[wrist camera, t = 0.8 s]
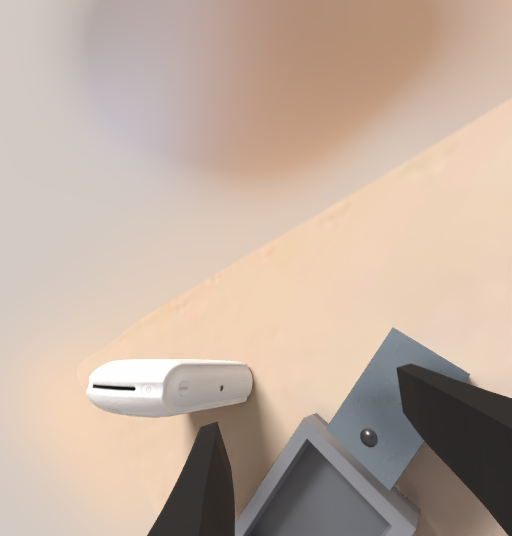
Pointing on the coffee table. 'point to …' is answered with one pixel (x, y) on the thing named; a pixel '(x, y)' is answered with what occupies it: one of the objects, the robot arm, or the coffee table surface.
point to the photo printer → (168, 386)
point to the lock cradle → (324, 493)
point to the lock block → (385, 409)
